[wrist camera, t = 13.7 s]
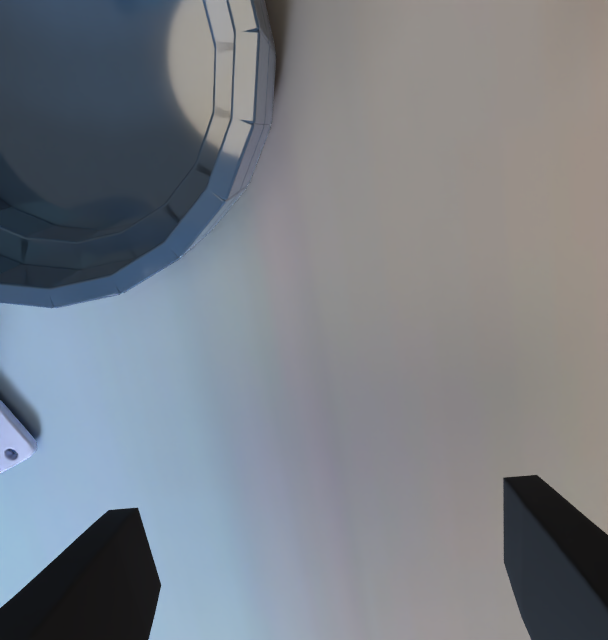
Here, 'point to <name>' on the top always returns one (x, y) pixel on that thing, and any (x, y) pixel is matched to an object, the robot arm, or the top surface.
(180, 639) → the top surface
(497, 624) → the top surface
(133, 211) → the bowl
